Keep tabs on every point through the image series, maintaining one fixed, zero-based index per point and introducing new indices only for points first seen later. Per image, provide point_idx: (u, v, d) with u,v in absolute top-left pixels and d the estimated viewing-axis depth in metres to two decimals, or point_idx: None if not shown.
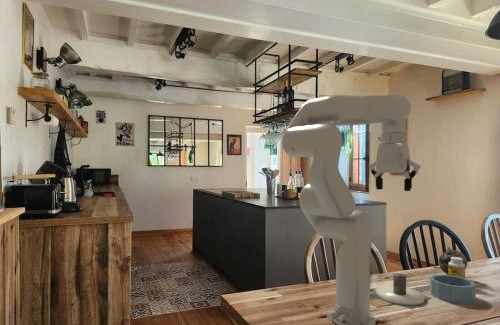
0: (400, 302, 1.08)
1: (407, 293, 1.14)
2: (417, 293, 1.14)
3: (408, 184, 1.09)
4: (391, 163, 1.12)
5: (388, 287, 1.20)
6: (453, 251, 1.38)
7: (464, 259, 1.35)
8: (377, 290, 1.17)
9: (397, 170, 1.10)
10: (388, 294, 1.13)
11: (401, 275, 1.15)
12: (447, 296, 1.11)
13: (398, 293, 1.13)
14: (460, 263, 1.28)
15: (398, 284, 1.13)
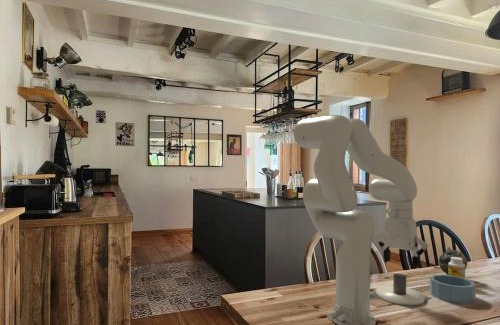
0: (400, 302, 1.08)
1: (407, 293, 1.14)
2: (417, 293, 1.14)
3: (416, 262, 1.11)
4: (399, 239, 1.13)
5: (388, 287, 1.20)
6: (453, 251, 1.38)
7: (464, 259, 1.35)
8: (377, 290, 1.17)
9: (405, 247, 1.11)
10: (388, 294, 1.13)
11: (401, 275, 1.15)
12: (447, 296, 1.11)
13: (398, 293, 1.13)
14: (460, 263, 1.28)
15: (398, 284, 1.13)
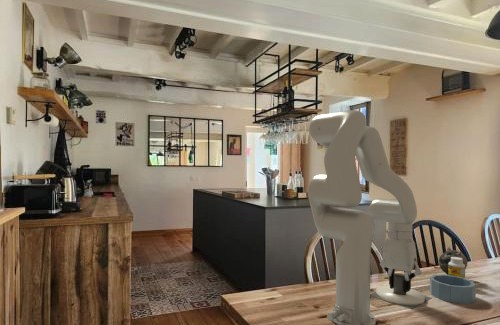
0: (400, 302, 1.08)
1: (407, 293, 1.14)
2: (417, 293, 1.14)
3: (407, 286, 1.12)
4: (398, 261, 1.12)
5: (388, 287, 1.20)
6: (453, 251, 1.38)
7: (464, 259, 1.35)
8: (377, 290, 1.17)
9: (404, 269, 1.11)
10: (388, 294, 1.13)
11: (401, 275, 1.15)
12: (447, 296, 1.11)
13: (398, 293, 1.13)
14: (460, 263, 1.28)
15: (398, 284, 1.13)
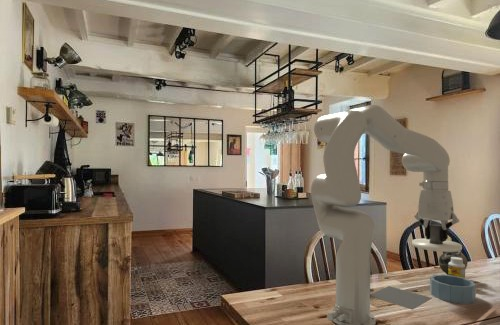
0: (439, 249, 1.09)
1: (443, 243, 1.16)
2: (453, 243, 1.16)
3: (444, 235, 1.13)
4: (435, 211, 1.14)
5: (423, 239, 1.22)
6: None
7: (464, 259, 1.35)
8: (413, 241, 1.18)
9: (441, 218, 1.12)
10: (425, 244, 1.15)
11: (437, 225, 1.16)
12: (447, 296, 1.11)
13: (435, 242, 1.15)
14: (460, 263, 1.28)
15: (435, 233, 1.15)
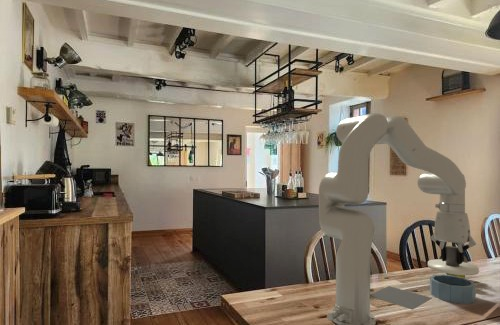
0: (456, 272, 1.09)
1: (460, 265, 1.16)
2: (469, 265, 1.16)
3: (461, 257, 1.14)
4: (451, 233, 1.14)
5: (439, 260, 1.22)
6: None
7: (464, 259, 1.35)
8: (429, 263, 1.19)
9: (458, 241, 1.13)
10: (442, 266, 1.15)
11: (453, 247, 1.16)
12: (447, 296, 1.11)
13: (451, 265, 1.15)
14: None
15: (452, 256, 1.15)
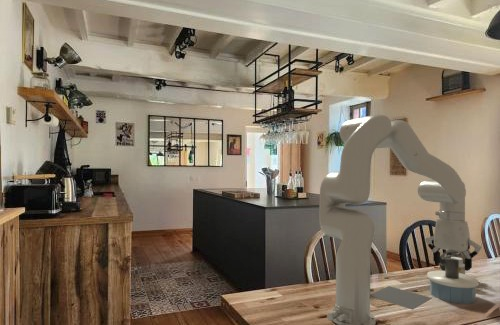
0: (455, 285, 1.09)
1: (459, 277, 1.16)
2: (469, 277, 1.16)
3: (469, 264, 1.12)
4: (451, 241, 1.14)
5: (438, 272, 1.22)
6: (453, 251, 1.38)
7: (464, 259, 1.35)
8: (429, 274, 1.18)
9: (458, 249, 1.12)
10: (441, 278, 1.15)
11: (453, 259, 1.16)
12: (447, 296, 1.11)
13: (451, 277, 1.15)
14: (460, 263, 1.28)
15: (451, 268, 1.15)
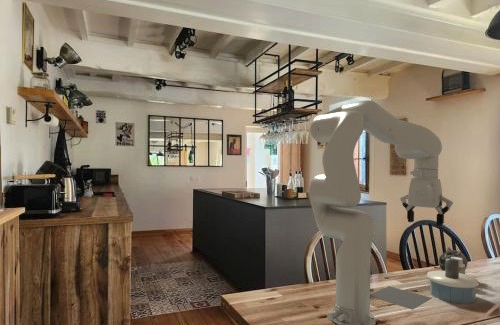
0: (455, 285, 1.09)
1: (459, 277, 1.16)
2: (469, 277, 1.16)
3: (440, 219, 1.13)
4: (424, 198, 1.16)
5: (438, 272, 1.22)
6: (453, 251, 1.38)
7: (464, 259, 1.35)
8: (429, 274, 1.18)
9: (430, 205, 1.14)
10: (441, 278, 1.15)
11: (453, 259, 1.16)
12: (447, 296, 1.11)
13: (451, 277, 1.15)
14: (460, 263, 1.28)
15: (451, 268, 1.15)
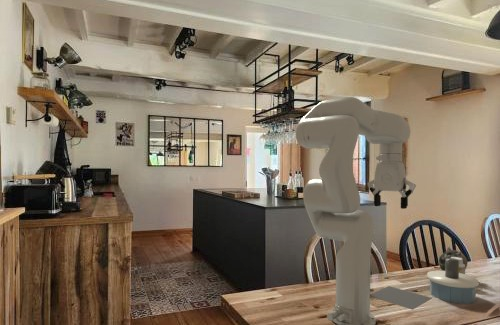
0: (455, 285, 1.09)
1: (459, 277, 1.16)
2: (469, 277, 1.16)
3: (404, 202, 1.16)
4: (388, 182, 1.19)
5: (438, 272, 1.22)
6: (453, 251, 1.38)
7: (464, 259, 1.35)
8: (429, 274, 1.18)
9: (394, 189, 1.17)
10: (441, 278, 1.15)
11: (453, 259, 1.16)
12: (447, 296, 1.11)
13: (451, 277, 1.15)
14: (460, 263, 1.28)
15: (451, 268, 1.15)
